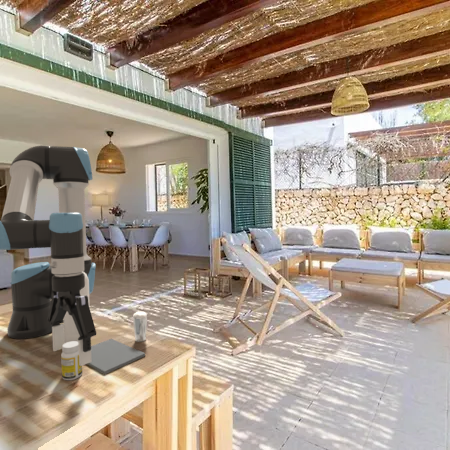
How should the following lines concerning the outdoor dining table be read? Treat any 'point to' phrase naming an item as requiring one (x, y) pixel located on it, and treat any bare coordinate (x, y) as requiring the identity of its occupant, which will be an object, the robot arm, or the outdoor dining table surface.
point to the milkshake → (140, 325)
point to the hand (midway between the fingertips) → (71, 356)
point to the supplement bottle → (70, 361)
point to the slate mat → (112, 355)
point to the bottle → (69, 324)
